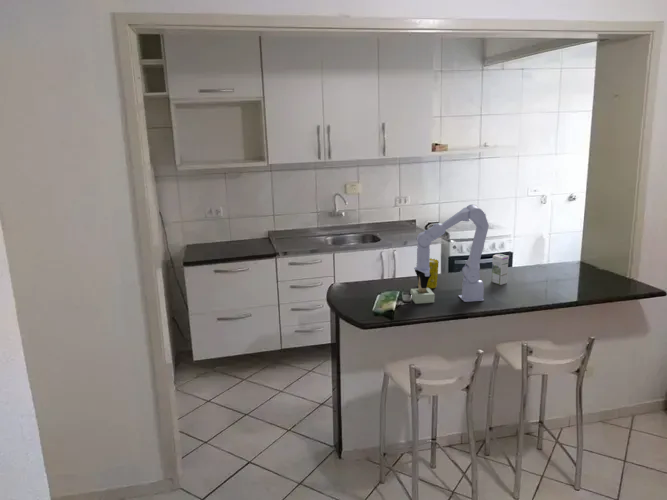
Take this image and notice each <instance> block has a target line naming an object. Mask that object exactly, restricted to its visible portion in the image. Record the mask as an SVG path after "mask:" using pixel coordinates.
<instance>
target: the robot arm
mask: <svg viewBox="0 0 667 500" xmlns="http://www.w3.org/2000/svg"><path fill="white" fill-rule="evenodd" d="M470 220H471V221H472V222H473V224H474V225H475V232H474V236H473V239H472V243H471V247H470V252H469V256H468V259H467V260H466V261H465V265H464V266H463V267H462V269H461V273H462V275H463V278H462V279H461V280H462V284H461V294H458V297H459V298H460V299H461V300H462V301H463V302H464V303H466V302H467V303H469V302H484V292H485V289H484V288H485V285H484V284H485V283H484V282H483V280H481V279H480V278H481V275H480V270H481V266H480V262H481V257H482V254H483V251H484V246H485V242H486V238H487V235H488V232H489V226H490V225H489V221H488V219H487V215H486V212H485V211H483V210H482V209H481V208H479V207H478V206H477V205H476V204H469V205H467V206H466V207H463V208H461V210H459V211H458V212H457V213H456V212H455V214H454V215H452V216H450V217H449V218H447V220H445V221H444V222H442V223H441V222H438V223H433V224H432V226H431V227H429V228H428V229H424V230H423V231H421V232H419V233H418V234H417V236H416V242H417V249H416V267H415V266H414V267H413V269H414V272H415V275H416V276H417V277H416V279H417V283H419V277H420V282H421V288H426V287H427V283H428V280H429V278H430V277H431V274H430V272H429V270H430V268H429V260H430V258H431V257H430V253H431V249H430V246H431V245H432V242H434V241H435V240H437V239H438V238H440V237H441V236H443V235H445V233H446V230H448V229H450V228H451V227H453V226H456V225H457V224H459V223H460V222H470Z"/></svg>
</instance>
